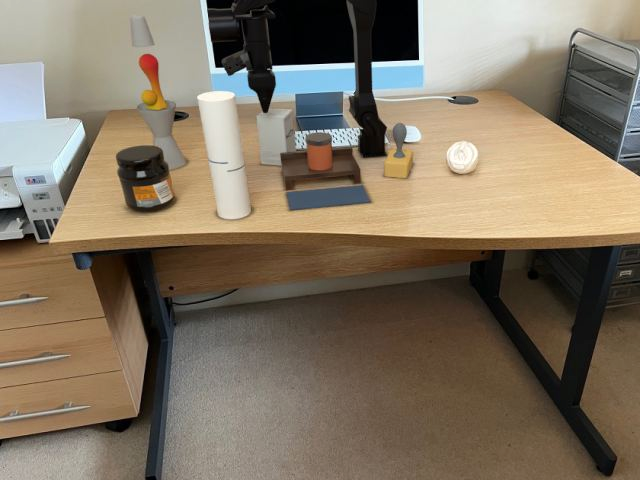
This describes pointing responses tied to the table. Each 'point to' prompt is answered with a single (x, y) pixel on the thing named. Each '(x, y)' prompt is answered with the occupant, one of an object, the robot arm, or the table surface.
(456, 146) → the cream swirled ball
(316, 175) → the shelf
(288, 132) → the white packaging box
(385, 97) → the table surface
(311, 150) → the jar
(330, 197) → the mat
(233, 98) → the cylindrical container
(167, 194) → the supplement container
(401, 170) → the rubber stamp
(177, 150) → the lava lamp
